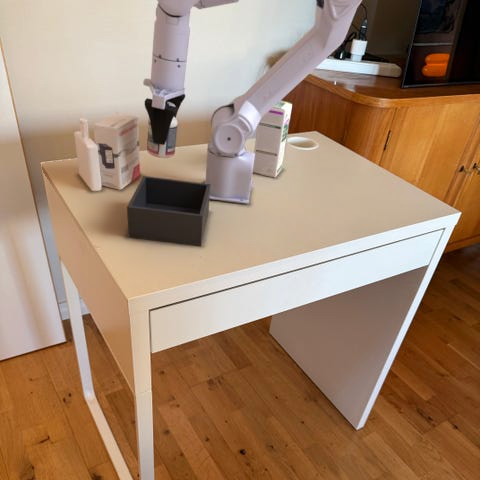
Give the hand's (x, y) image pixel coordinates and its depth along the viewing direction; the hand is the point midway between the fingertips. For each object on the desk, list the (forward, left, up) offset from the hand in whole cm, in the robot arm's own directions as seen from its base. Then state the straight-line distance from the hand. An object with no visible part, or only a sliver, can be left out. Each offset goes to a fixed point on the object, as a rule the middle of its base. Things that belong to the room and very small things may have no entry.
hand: (162, 137), depth 85 cm
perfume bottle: (+14, +2, -10) cm, 17 cm away
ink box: (+9, -1, -10) cm, 13 cm away
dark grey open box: (-4, +14, -10) cm, 17 cm away
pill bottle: (0, 0, -3) cm, 3 cm away
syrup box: (-21, -15, -10) cm, 28 cm away
